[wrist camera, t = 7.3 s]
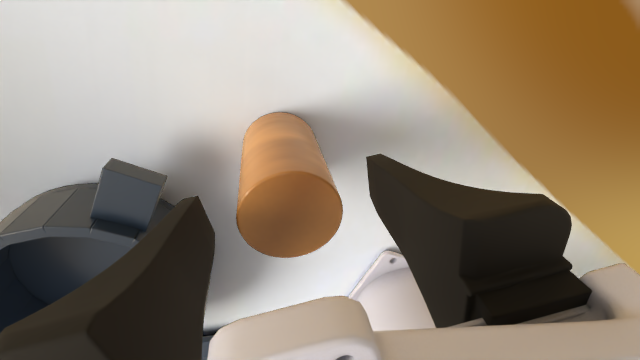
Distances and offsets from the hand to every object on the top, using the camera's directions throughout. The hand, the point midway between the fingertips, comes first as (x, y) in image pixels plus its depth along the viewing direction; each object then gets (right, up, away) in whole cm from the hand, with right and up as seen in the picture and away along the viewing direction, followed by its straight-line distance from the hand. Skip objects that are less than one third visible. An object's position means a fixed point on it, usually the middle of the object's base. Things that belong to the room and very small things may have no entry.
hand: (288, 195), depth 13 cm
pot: (-11, -4, +6) cm, 13 cm away
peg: (-1, +3, +4) cm, 5 cm away
